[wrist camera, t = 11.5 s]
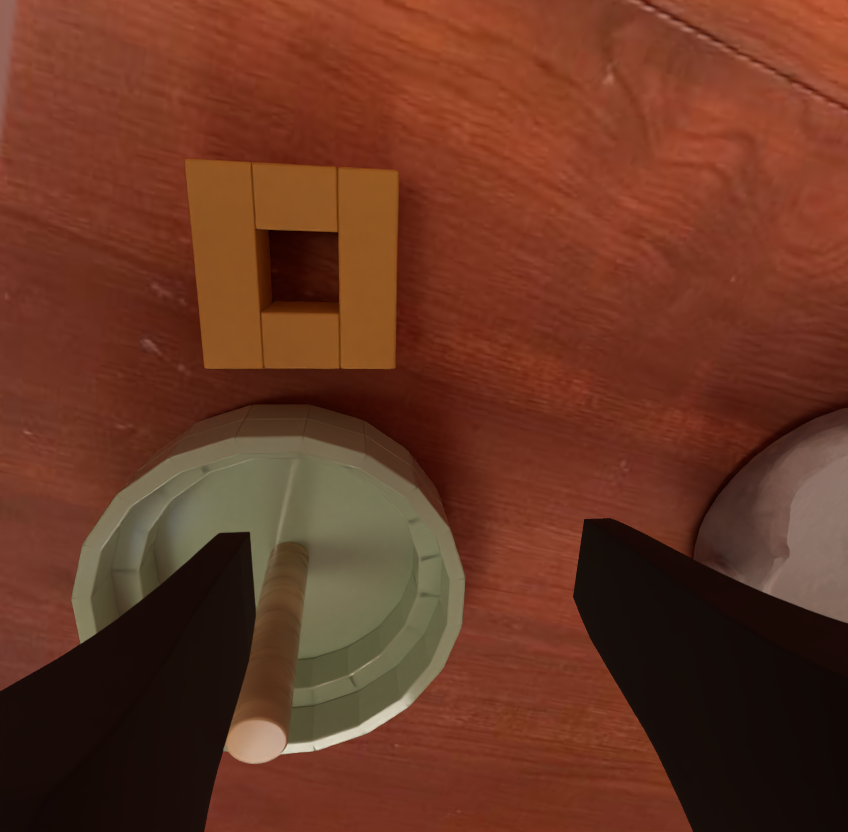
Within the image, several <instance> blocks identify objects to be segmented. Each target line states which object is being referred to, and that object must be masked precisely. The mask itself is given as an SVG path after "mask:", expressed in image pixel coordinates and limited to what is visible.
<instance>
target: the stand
mask: <svg viewBox="0 0 848 832" xmlns="http://www.w3.org/2000/svg"><path fill="white" fill-rule="evenodd" d="M185 170H186V181H187V191H188V202H189V212H190V223H191V233H192V244H193V254H194V265H195V275H196V286H197V296H198V307H199V317H200V327H201V338H202V348H203V359H204V367H205V368H206V369H263V368H266V369H338V368H340V367H341V368H342V369H394V368H395V366H396V313H397V260H398V207H399V172H398V170H391V169H372V168H354V167H339V168H338V169H337V168H336V167H334V166H317V165H298V164H279V163H260V162H254V163H251V162H244V161H225V160H206V159H187V158H186V159H185ZM269 230H291V231H318V232H338V257H339V302H312V301H273V302H272V283H271V264H270V245H269Z"/></svg>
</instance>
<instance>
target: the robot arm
mask: <svg viewBox="0 0 848 832" xmlns="http://www.w3.org/2000/svg"><path fill="white" fill-rule="evenodd" d="M573 598H574V601H575V603H576V606H577V608H578V611H579V613H580V616H581V618H582V621H583V623H584V625H585V627H586V630H587V632H588V634H589V636H590V638H591V640H592V642H593V644H594V646H595V647H596V649H597V651H598V652H599V654H600V656H601V658H602V659H603V661H604V663H605V664H606V666H607V668H608V670H609V671H610V673H611V675H612V676H613V678H614V680H615V681H616V683H617V685H618V686H619V688H620V690H621V691H622V693H623V695H624V696H625V698H626V700H627V701H628V703H629V705H630V707H631V708H632V710H633V712H634V713H635V715H636V717H637V718H638V720H639V722H640V723H641V725H642V727H643V728H644V730H645V732H646V734H647V735H648V737H649V739H650V741H651V743H652V745H653V746H654V748H655V750H656V752H657V754H658V756H659V758H660V760H661V762H662V765H663V767H664V769H665V771H666V773H667V775H668V777H669V779H670V781H671V784H672V786H673V788H674V790H675V792H676V794H677V796H678V798H679V801H680V803H681V805H682V807H683V809H684V812H685V814H686V816H687V819H688V821H689V823H690V825H691V828H692V830H693V832H848V623H845V622H842V621H839V620H836V619H833V618H830V617H827V616H824V615H822V614H819V613H816V612H813V611H810V610H807V609H805V608H802V607H800V606H797V605H795V604H792V603H789V602H787V601H784V600H782V599H779V598H777V597H774V596H772V595H769V594H767V593H764V592H762V591H760V590H757V589H755V588H753V587H750V586H748V585H746V584H744V583H742V582H739V581H737V580H735V579H733V578H731V577H729V576H727V575H724V574H722V573H720V572H718V571H716V570H714V569H712V568H710V567H708V566H706V565H704V564H702V563H700V562H698V561H696V560H694V559H692V558H690V557H688V556H686V555H684V554H682V553H680V552H678V551H676V550H674V549H673V548H671V547H669V546H667V545H665V544H663V543H661V542H659V541H657V540H655V539H653V538H651V537H650V536H648V535H646V534H644V533H642V532H640V531H638V530H636V529H634V528H632V527H630V526H628V525H626V524H623V523H621V522H619V521H616V520H614V519H611V518H603V519H584V525H583V532H582V539H581V546H580V553H579V560H578V567H577V573H576V580H575V587H574V594H573ZM255 620H256V605H255V592H254V579H253V565H252V552H251V539H250V532H226V533H218V534H217V535H216V536H215V537H213V538H212V539H211V540H210V541H209V542H208V543H207V544H206V545H205V546H203V547H202V548H201V549H200V550H199V551H198V552H197V553H196V554H195V555H194V556H192V557H191V558H190V559H189V560H188V561H187V562H186V563H185V564H184V565H182V566H181V567H180V568H179V569H178V570H177V571H176V572H174V573H173V574H172V575H171V576H170V577H169V578H168V579H166V580H165V581H164V582H163V583H162V584H161V585H159V586H158V587H157V588H156V589H154V590H153V591H152V592H151V593H149V594H148V595H147V596H146V597H144V598H143V599H142V600H141V601H139V602H138V603H137V604H135V605H134V606H133V607H132V608H130V609H129V610H128V611H127V612H125V613H124V614H123V615H121V616H120V617H119V618H118V619H116V620H115V621H113V622H112V623H111V624H109V625H108V626H106V627H105V628H104V629H102V630H101V631H99V632H98V633H96V634H95V635H93V636H92V637H90V638H89V639H87V640H86V641H84V642H83V643H81V644H80V645H78V646H77V647H75V648H74V649H72V650H71V651H69V652H68V653H66V654H64V655H63V656H61V657H59V658H58V659H56V660H54V661H53V662H51V663H49V664H47V665H46V666H44V667H42V668H40V669H39V670H37V671H35V672H33V673H32V674H30V675H28V676H26V677H25V678H23V679H21V680H19V681H18V682H16V683H14V684H12V685H11V686H9V687H7V688H5V689H4V690H2V691H0V832H204V830H205V824H206V819H207V814H208V809H209V804H210V799H211V794H212V790H213V786H214V782H215V778H216V774H217V770H218V767H219V763H220V760H221V757H222V753H223V750H224V746H225V743H226V739H227V736H228V733H229V729H230V726H231V722H232V719H233V715H234V712H235V709H236V705H237V702H238V698H239V695H240V691H241V688H242V684H243V681H244V677H245V674H246V670H247V667H248V663H249V658H250V652H251V646H252V640H253V634H254V627H255Z"/></svg>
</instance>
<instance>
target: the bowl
mask: <svg viewBox="0 0 848 832" xmlns="http://www.w3.org/2000/svg"><path fill="white" fill-rule="evenodd" d="M226 532H250V539H251V552H252V565H253V579H254V592H255V605H256V609H257V605H258V601H259V597H260V593H261V589H262V584H263V580H264V576H265V572H266V568H267V564H268V560H269V556H270V553H271V551H272V550H273V549H274V548H275V547H276V546H278V545H279V544H282V543H285V542H294V543H297V544H299V545H301V546H303V547H304V548H305V549H306V551H307V552H308V555H309V566H308V575H307V583H306V592H305V600H304V609H303V618H302V626H301V635H300V644H299V652H298V661H297V669H296V678H295V687H294V695H293V704H292V712H291V721H290V730H289V738H288V743H287V746H286V748H285V749H284V751H283V752H282V753H281V754H291V753H302V752H313V751H315V750H316V751H318V750H321V749H324V748H327V747H330V746H333V745H335V744H338V743H341V742H344V741H347V740H350V739H353V738H356V737H359V736H362V735H365V734H368V733H369V732H371V731H372V730H374V729H376V728H377V727H379V726H380V725H382V724H383V723H385V722H387V721H388V720H390V719H391V718H393V717H394V716H396V715H397V714H399V713H401V712H402V711H404V710H405V709H407V708H408V707H409V706H410V705H411V704H412V703H413V702H414V701H415V700H416V699H417V698H418V696H419V695H420V694H421V693H422V692H423V691H424V690H425V689H426V688H427V686H428V685H429V684H430V683H431V682H432V681H433V680H434V679H435V677H436V676H437V675H438V674H439V673H440V672H441V671H442V669H443V668H444V666H445V663H446V661H447V659H448V657H449V654H450V652H451V650H452V648H453V645H454V643H455V641H456V639H457V636H458V634H459V632H460V630H461V627H462V623H463V609H464V595H465V580H466V578H465V573H464V570H463V566H462V563H461V560H460V557H459V553H458V550H457V547H456V544H455V541H454V537H453V534H452V531H451V528H450V525H449V522H448V519H447V517H446V514H445V511H444V508H443V505H442V502H441V499H440V496H439V494H438V491H437V489H436V487H435V485H434V484H433V483H432V481H431V480H430V479H429V477H428V476H427V475H426V473H425V472H424V471H423V469H422V468H421V467H420V466H419V464H418V463H417V462H416V460H415V459H414V458H413V456H412V455H411V454H410V452H409V451H407V450H406V448H404V447H403V446H401V445H400V444H398V443H397V442H395V441H394V440H392V439H391V438H389V437H388V436H386V435H385V434H384V433H382V432H381V431H379V430H378V429H376V428H375V427H373V426H372V425H370V424H369V423H367V422H366V421H363V420H361V419H358V418H354V417H351V416H348V415H344V414H341V413H338V412H334V411H331V410H327V409H324V408H321V407H317V406H314V405H309V404H287V405H250V406H246V407H243V408H240V409H237V410H234V411H230V412H227V413H224V414H221V415H218V416H214V417H211V418H208V419H205V420H202V421H199V422H197V423H195V424H193V425H192V426H190V427H189V428H188V429H186V430H185V431H183V432H182V433H180V434H179V435H178V436H176V437H175V438H173V439H172V440H171V441H169V442H168V443H166V444H165V445H164V446H162V447H161V448H159V449H158V450H157V451H155V452H154V453H153V454H152V455H151V456H150V457H149V458H148V459H147V460H146V462H145V463H144V464H143V465H142V466H141V467H140V468H139V470H138V471H137V472H136V473H135V474H134V475H133V476H132V477H131V479H130V480H129V481H128V482H127V483H126V484H125V485H124V487H123V488H122V489H121V490H120V491H119V492H118V493H117V494H116V496H115V497H114V498H113V500H112V501H111V503H110V504H109V506H108V507H107V509H106V510H105V512H104V513H103V514H102V516H101V517H100V519H99V520H98V522H97V523H96V525H95V526H94V528H93V529H92V531H91V532H90V533H89V535H88V536H87V538H86V539H85V541H84V544H83V545H82V549H81V554H80V559H79V563H78V568H77V573H76V578H75V583H74V587H73V592H72V604H73V609H74V614H75V619H76V624H77V629H78V634H79V639H80V644H81V643H83V642H84V641H86V640H87V639H89V638H90V637H92V636H93V635H95V634H96V633H98V632H99V631H101V630H102V629H104V628H105V627H106V626H108V625H109V624H111V623H112V622H113V621H115V620H116V619H118V618H119V617H120V616H121V615H123V614H124V613H125V612H127V611H128V610H129V609H130V608H132V607H133V606H134V605H135V604H137V603H138V602H139V601H141V600H142V599H143V598H144V597H146V596H147V595H148V594H149V593H151V592H152V591H153V590H154V589H156V588H157V587H158V586H159V585H161V584H162V583H163V582H164V581H165V580H166V579H168V578H169V577H170V576H171V575H172V574H173V573H174V572H176V571H177V570H178V569H179V568H180V567H181V566H182V565H184V564H185V563H186V562H187V561H188V560H189V559H190V558H191V557H192V556H194V555H195V554H196V553H197V552H198V551H199V550H200V549H201V548H202V547H203V546H205V545H206V544H207V543H208V542H209V541H210V540H211V539H212V538H213V537H215V536H216V535H217V534H218V533H226ZM223 751H225V752H229V751H228V750H227V747H226V743H225V746H224V750H223ZM281 754H280V755H281Z"/></svg>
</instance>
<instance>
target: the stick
mask: <svg viewBox="0 0 848 832" xmlns="http://www.w3.org/2000/svg"><path fill="white" fill-rule="evenodd" d="M308 566H309V555H308V552H307V551H306V549H305V548H304V547H303V546H301V545H299V544H297V543H294V542H285V543H282V544H279V545H278V546H276V547H275V548H274V549H273V550H272V551H271V553H270V556H269V560H268V564H267V568H266V572H265V576H264V580H263V584H262V589H261V593H260V597H259V601H258V605H257V609H256V620H255V627H254V634H253V640H252V646H251V652H250V658H249V663H248V667H247V670H246V674H245V677H244V681H243V684H242V688H241V691H240V695H239V698H238V702H237V705H236V709H235V712H234V715H233V719H232V722H231V726H230V729H229V733H228V736H227V739H226V747H227V750H228V751H229V753H230V754H231V755H232V756H233V757H234V758H236V759H237V760H239V761H242V762H245V763H250V764H260V763H265V762H268V761H271V760H273V759H275V758H277V757H278V756H279V755H280V754H281V753H282V752H283V751H284V749H285V748H286V746H287V743H288V738H289V730H290V721H291V712H292V704H293V695H294V687H295V678H296V669H297V661H298V652H299V644H300V635H301V626H302V618H303V609H304V600H305V592H306V583H307V575H308Z"/></svg>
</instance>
